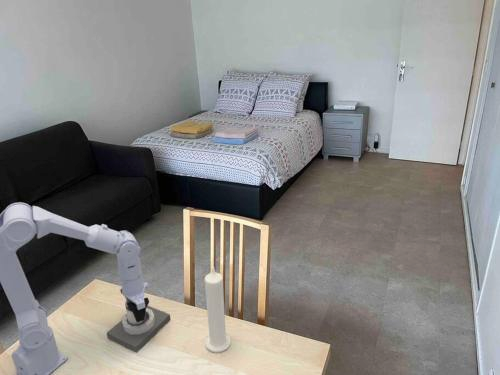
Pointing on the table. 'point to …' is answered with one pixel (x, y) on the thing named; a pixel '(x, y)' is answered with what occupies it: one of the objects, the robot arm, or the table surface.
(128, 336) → the camera body
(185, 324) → the table surface
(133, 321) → the lens
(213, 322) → the candle
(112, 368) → the table surface
